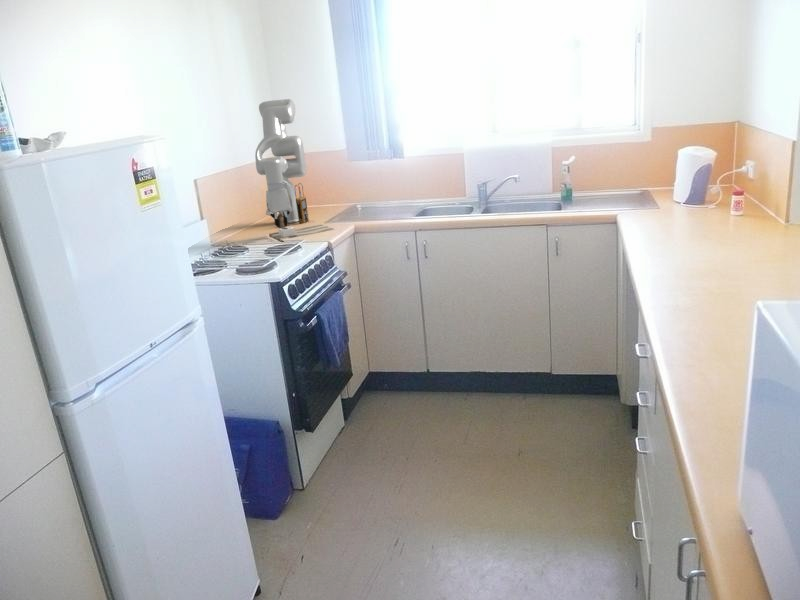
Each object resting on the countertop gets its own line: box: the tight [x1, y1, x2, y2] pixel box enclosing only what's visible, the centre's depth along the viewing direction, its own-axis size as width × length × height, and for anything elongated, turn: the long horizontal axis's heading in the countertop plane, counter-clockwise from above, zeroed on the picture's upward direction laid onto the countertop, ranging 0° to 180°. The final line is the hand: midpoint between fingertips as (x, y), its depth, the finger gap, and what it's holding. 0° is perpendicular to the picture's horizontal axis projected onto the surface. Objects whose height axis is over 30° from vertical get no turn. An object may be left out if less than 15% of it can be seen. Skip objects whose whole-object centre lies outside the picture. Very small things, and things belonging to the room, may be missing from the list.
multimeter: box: [294, 182, 310, 225], centre depth 328 cm, size 15×10×20 cm
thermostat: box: [277, 226, 296, 237], centre depth 301 cm, size 6×6×3 cm
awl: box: [277, 212, 286, 229], centre depth 307 cm, size 3×3×11 cm
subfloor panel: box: [268, 224, 336, 243], centre depth 306 cm, size 18×26×1 cm
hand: (281, 226), depth 308 cm, fingers closed on awl, 2 cm apart
